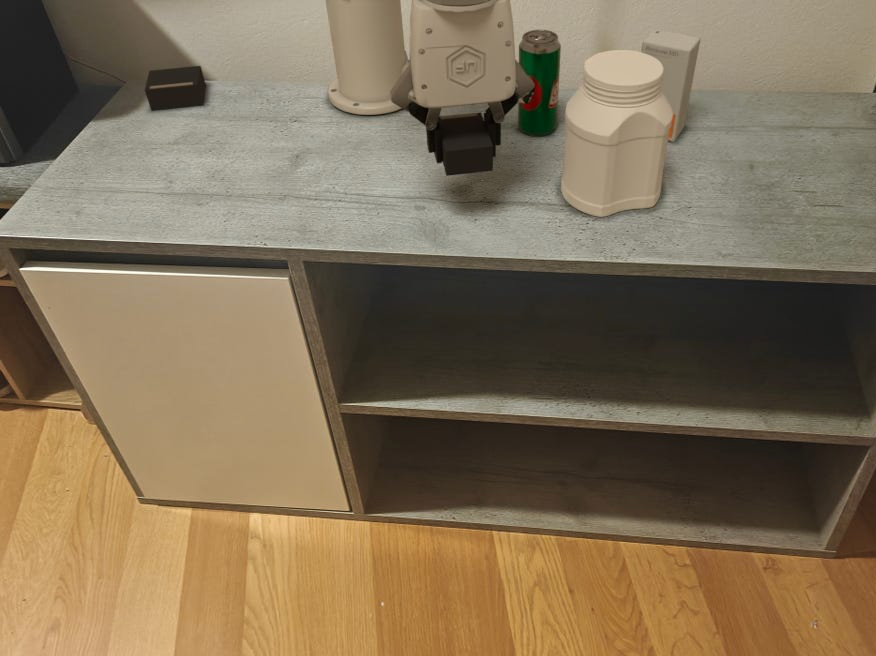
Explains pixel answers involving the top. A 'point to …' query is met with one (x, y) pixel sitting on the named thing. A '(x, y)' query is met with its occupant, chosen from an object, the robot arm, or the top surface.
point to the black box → (466, 144)
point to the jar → (616, 134)
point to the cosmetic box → (674, 71)
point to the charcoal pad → (175, 88)
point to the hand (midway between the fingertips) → (464, 152)
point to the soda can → (540, 82)
